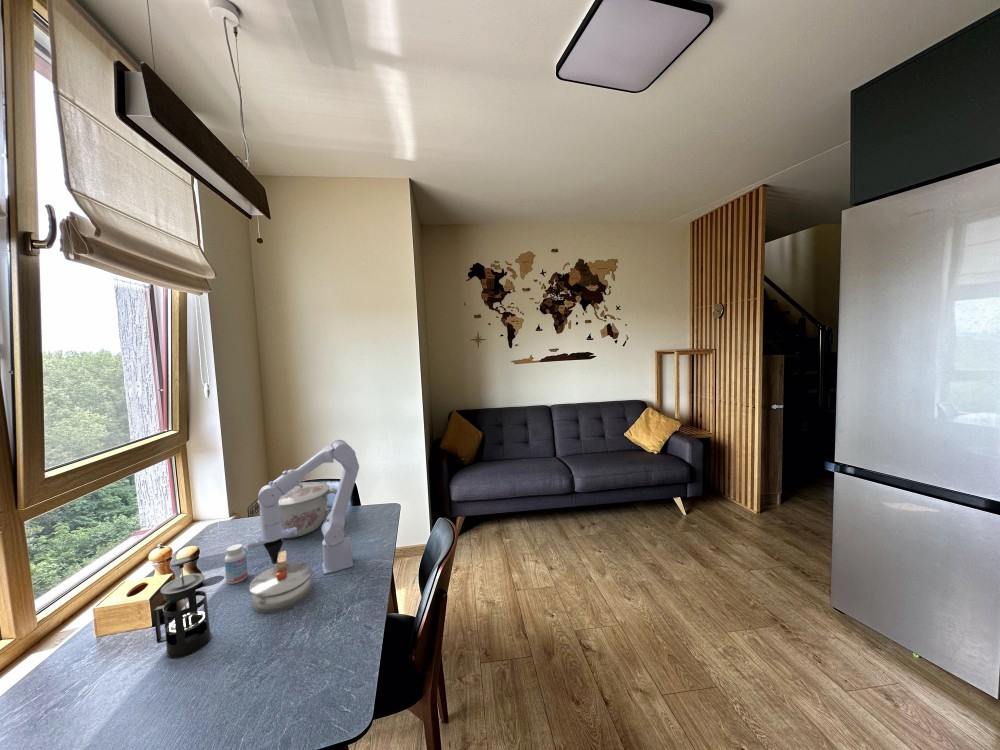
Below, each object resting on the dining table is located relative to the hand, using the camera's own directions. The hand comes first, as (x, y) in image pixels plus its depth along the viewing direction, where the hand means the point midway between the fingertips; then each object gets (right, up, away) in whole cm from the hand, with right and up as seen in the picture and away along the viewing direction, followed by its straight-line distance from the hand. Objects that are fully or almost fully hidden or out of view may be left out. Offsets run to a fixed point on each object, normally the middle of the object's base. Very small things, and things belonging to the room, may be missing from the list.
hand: (274, 562), depth 128 cm
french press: (-8, -10, -25) cm, 28 cm away
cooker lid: (+5, -2, -4) cm, 7 cm away
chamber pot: (-13, -6, +40) cm, 42 cm away
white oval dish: (+5, -7, -4) cm, 10 cm away
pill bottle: (-15, -8, +5) cm, 18 cm away
